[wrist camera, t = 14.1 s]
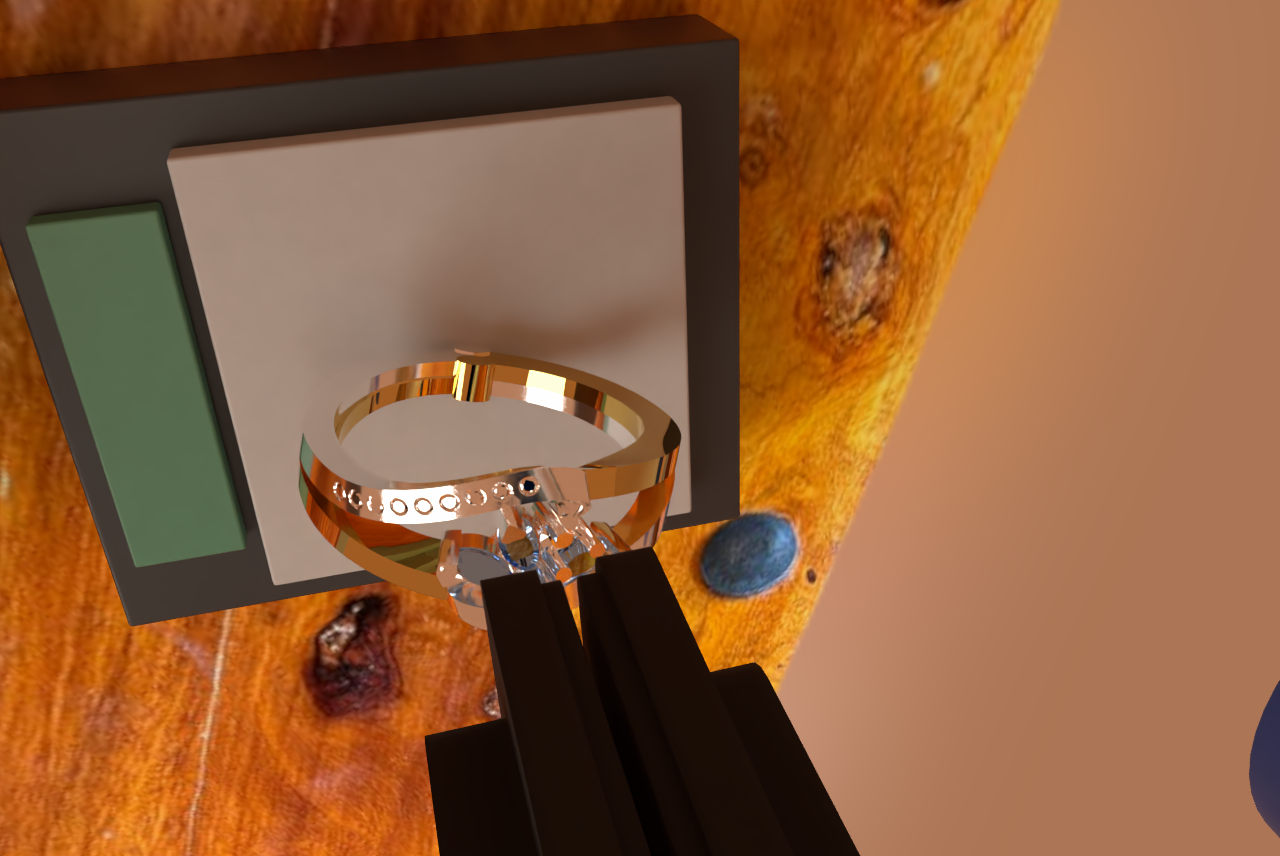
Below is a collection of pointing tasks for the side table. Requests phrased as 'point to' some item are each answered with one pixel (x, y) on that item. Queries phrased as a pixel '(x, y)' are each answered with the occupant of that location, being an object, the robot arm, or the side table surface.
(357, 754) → the side table surface
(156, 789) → the side table surface
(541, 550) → the ring
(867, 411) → the side table surface
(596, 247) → the scale
